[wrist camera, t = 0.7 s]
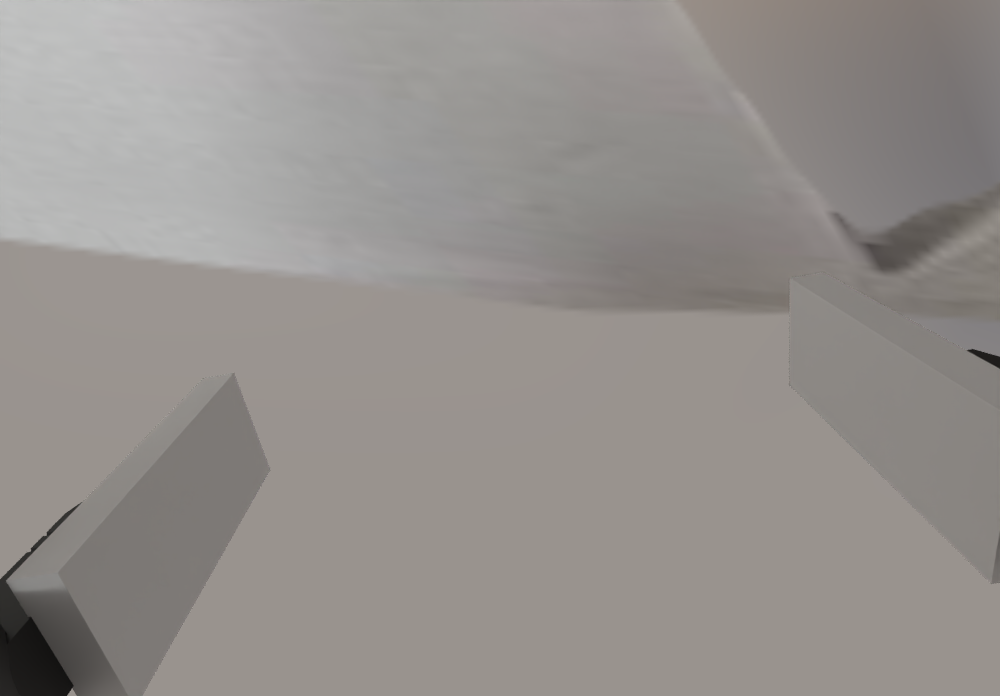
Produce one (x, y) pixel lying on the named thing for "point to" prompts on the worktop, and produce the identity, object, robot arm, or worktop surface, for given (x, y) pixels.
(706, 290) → the worktop surface
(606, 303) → the worktop surface
